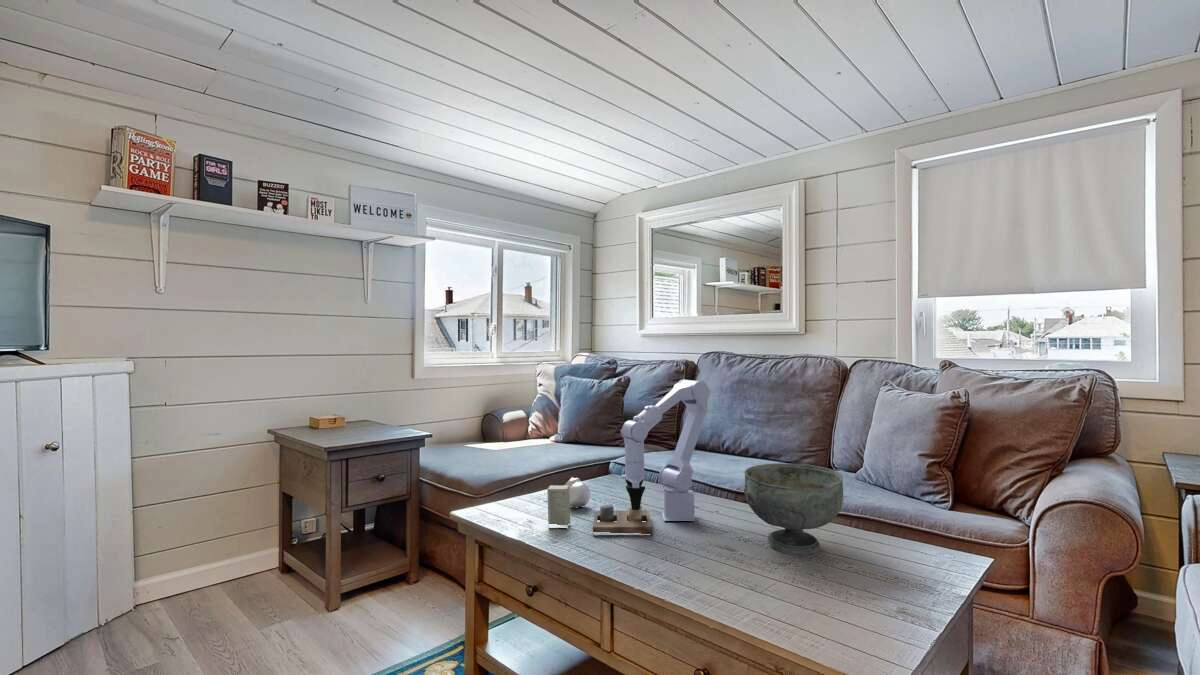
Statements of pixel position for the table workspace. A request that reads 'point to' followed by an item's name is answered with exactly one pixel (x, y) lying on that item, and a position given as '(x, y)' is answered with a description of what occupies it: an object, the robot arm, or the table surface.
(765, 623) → the table surface
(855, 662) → the table surface
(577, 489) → the ghost figurine
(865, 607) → the table surface
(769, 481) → the decorative bowl
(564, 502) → the skincare box
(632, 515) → the birch peg
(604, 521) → the pocket board
